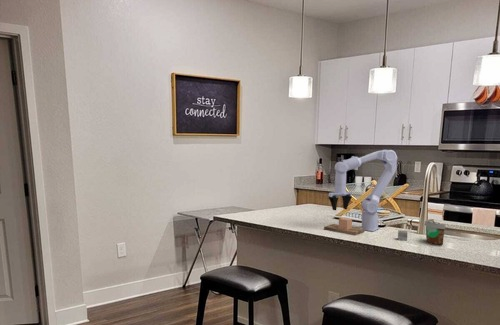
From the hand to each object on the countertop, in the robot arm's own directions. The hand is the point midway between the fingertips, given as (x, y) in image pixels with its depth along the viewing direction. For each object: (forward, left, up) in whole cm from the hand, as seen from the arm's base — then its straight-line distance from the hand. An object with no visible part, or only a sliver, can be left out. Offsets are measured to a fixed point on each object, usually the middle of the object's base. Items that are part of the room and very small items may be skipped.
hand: (339, 209), depth 203 cm
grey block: (-1, +33, -10) cm, 35 cm away
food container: (-5, +45, -11) cm, 46 cm away
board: (+2, +4, -10) cm, 11 cm away
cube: (+3, +5, -9) cm, 11 cm away
